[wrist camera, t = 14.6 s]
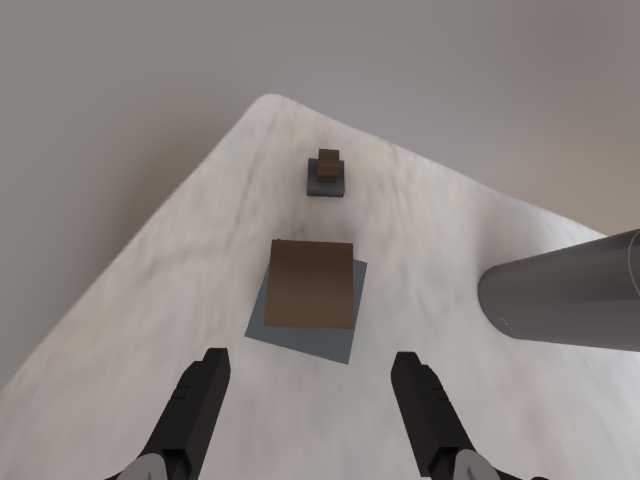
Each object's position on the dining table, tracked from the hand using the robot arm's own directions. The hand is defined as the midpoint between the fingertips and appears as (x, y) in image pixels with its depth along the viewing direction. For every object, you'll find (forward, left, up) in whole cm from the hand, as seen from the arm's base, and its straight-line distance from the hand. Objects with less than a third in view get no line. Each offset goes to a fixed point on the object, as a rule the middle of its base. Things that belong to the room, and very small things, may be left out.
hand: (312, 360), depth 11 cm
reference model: (-12, -17, -16) cm, 26 cm away
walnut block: (-2, -3, -11) cm, 12 cm away
